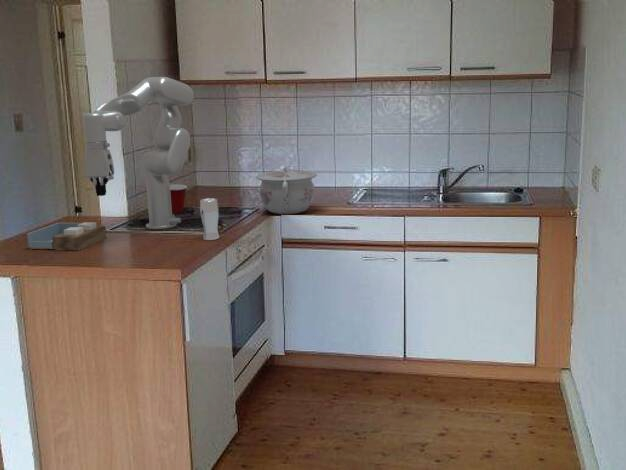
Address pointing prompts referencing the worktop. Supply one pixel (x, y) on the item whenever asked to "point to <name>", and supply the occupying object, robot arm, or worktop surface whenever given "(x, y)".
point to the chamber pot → (287, 191)
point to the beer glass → (209, 218)
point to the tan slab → (79, 239)
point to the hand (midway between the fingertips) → (101, 195)
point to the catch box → (47, 235)
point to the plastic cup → (177, 197)
